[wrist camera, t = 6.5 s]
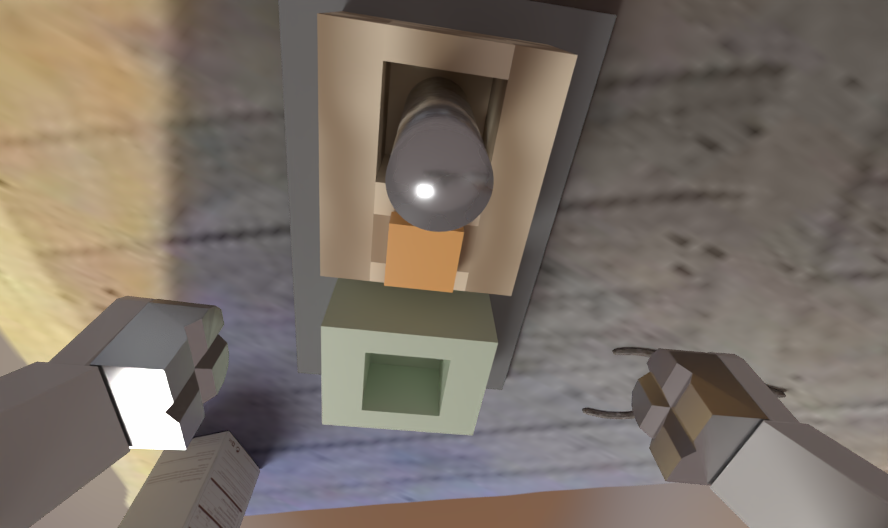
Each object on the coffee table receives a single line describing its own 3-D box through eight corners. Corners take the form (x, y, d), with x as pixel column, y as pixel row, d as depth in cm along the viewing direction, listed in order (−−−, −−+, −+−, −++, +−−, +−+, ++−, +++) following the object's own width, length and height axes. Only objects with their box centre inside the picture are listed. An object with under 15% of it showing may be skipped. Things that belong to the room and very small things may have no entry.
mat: (610, 15, 25) (616, 15, 24) (500, 381, 41) (502, 389, 40) (281, -42, 23) (276, -44, 23) (300, 364, 39) (297, 372, 39)
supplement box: (203, 480, 49) (138, 616, 38) (166, 440, 45) (82, 579, 34) (263, 470, 48) (214, 605, 37) (231, 428, 44) (165, 566, 33)
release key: (458, 192, 27) (464, 232, 23) (449, 246, 29) (452, 292, 25) (396, 185, 27) (389, 223, 22) (392, 240, 29) (383, 285, 24)
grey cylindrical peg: (475, 82, 25) (504, 136, 15) (464, 149, 27) (482, 237, 17) (407, 72, 25) (389, 120, 14) (401, 140, 27) (381, 225, 17)
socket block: (548, 44, 25) (577, 55, 20) (499, 249, 32) (511, 296, 27) (342, 11, 24) (317, 13, 19) (338, 231, 31) (320, 275, 26)
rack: (488, 292, 34) (498, 342, 29) (467, 379, 39) (472, 435, 34) (338, 276, 33) (321, 326, 28) (336, 368, 38) (322, 424, 33)
